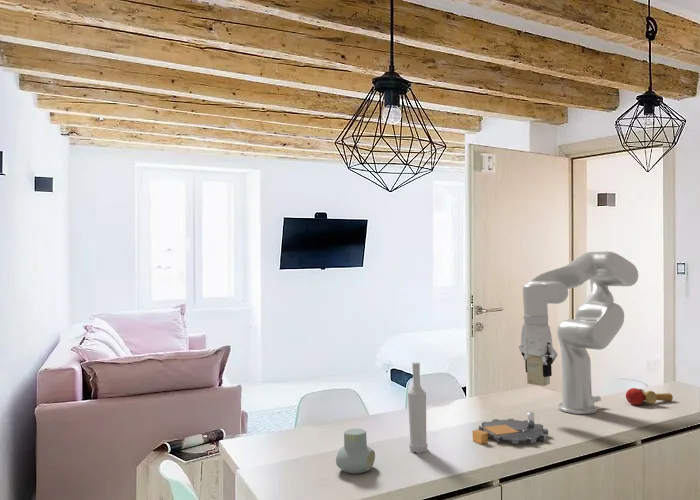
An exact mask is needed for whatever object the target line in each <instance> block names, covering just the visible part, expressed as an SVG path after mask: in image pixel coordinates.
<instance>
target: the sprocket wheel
mask: <svg viewBox="0 0 700 500" xmlns="http://www.w3.org/2000/svg"><path fill="white" fill-rule="evenodd" d="M526 415H527V419H526V420H519V419H514V418H507V419H498V418H494V419H492V420H491V421H488V422H487V421H483V422H481V426H480V425H479V426H478V429H479V430H481V431H484V432H486V433H488V438H491V439H493V441H494V442H499V443H500V442H502V441H503V442H509V443H511V444H517V445H519V443H530V444H536V443H537V441H539V440H542V441H546V439H547V438H548V437H547V436H549V429H548V428H544V425H543V424H541V423H535V412H534V411H533V412H531V411H527V414H526Z"/></svg>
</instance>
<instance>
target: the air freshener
mask: <svg viewBox="0 0 700 500" xmlns="http://www.w3.org/2000/svg"><path fill="white" fill-rule="evenodd" d="M343 442H344V443H343V446H342V447H341V448H340V449H339V450H338V451H337V454H336V458H335V463H336V467H338V468H339V469H340V470H342V471H343V472H345V473H348V474H363V472H364V473H366V472H368V471H370V470H371V469H372V468H373V466H374V464H375V459H376V453H375V451H374V449H373V448H372V447H370V446H368V445H367V442H368V441H367V431H366V430H365V429H362V428H349V429H347V430H345V431H344V432H343Z"/></svg>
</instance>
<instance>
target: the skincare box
mask: <svg viewBox="0 0 700 500" xmlns="http://www.w3.org/2000/svg"><path fill="white" fill-rule="evenodd" d="M546 354H547V353H546ZM546 354H545V355H546ZM546 359H547V357H546ZM543 365H544V362H543V360H542V357H538V356H533V355H529V354H528V348H527V372H526V378H527V379H526V380H527V382H526V383H527V384H529V385H532V386H538V387H539V386H541V387H547V386H548V385H550V384H551V376H549V377H544V376H543Z"/></svg>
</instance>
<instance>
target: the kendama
mask: <svg viewBox="0 0 700 500" xmlns="http://www.w3.org/2000/svg"><path fill="white" fill-rule="evenodd" d="M625 399H626V400H627V402H628V403H629V404H631V405H632V406H641V404H644V403H645V402H646V403H648V404H655V403H656V402H657V401H665V402H672V401H673V395H672V393H669V392H668V393H667V392H666V393H665V392H664V393H656V392H655V391H652V390H647V391H644V389H642V388H637V387H633V388H629V389H627V391H626V393H625Z"/></svg>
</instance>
